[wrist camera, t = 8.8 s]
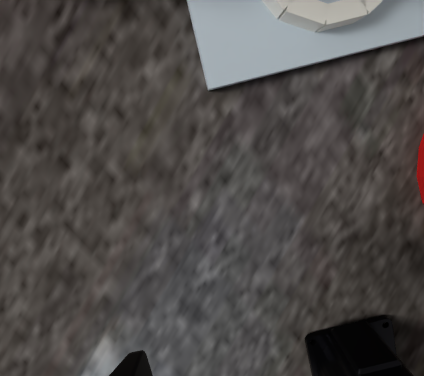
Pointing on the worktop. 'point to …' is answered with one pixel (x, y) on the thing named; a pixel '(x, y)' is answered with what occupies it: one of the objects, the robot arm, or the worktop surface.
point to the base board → (294, 33)
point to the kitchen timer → (421, 169)
